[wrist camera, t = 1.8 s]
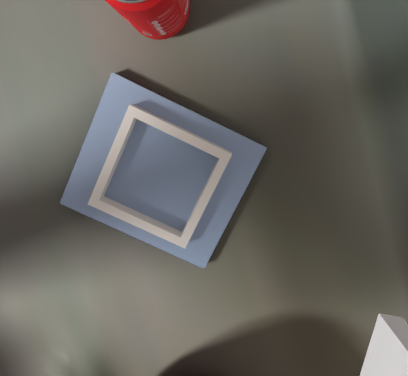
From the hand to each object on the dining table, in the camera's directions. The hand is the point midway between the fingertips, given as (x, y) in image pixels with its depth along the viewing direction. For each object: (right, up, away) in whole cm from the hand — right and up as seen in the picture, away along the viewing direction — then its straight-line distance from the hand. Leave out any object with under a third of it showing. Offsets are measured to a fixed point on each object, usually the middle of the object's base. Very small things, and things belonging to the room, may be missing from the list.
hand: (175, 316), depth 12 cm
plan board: (-3, +6, +22) cm, 23 cm away
